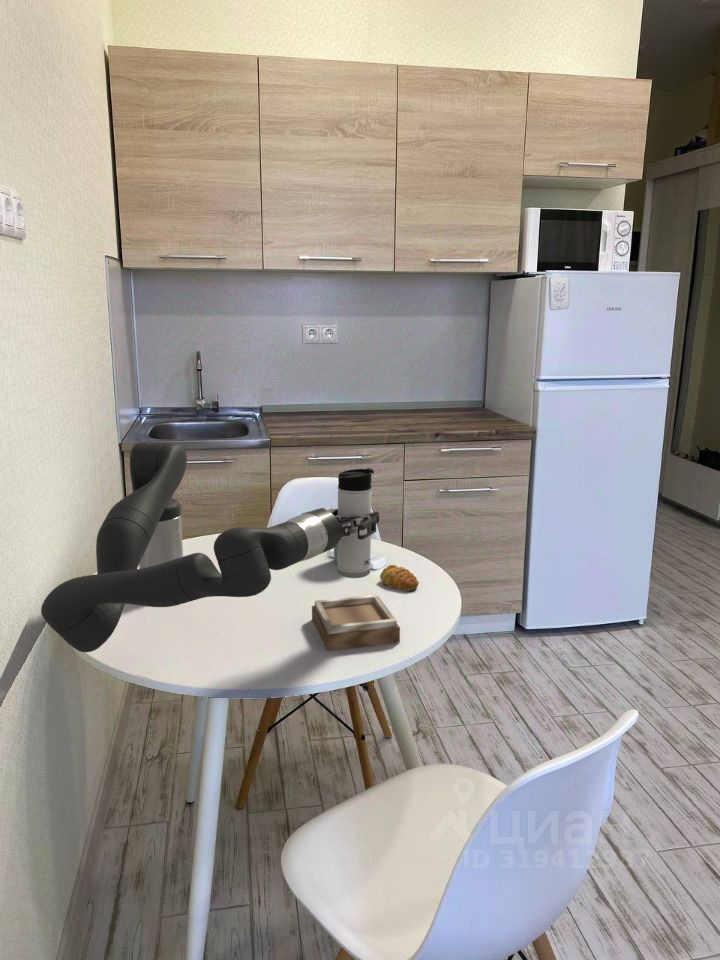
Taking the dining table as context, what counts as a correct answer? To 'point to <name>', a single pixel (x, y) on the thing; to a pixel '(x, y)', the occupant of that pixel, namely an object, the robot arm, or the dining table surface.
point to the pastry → (399, 578)
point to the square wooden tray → (354, 622)
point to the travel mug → (352, 501)
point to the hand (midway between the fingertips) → (361, 514)
